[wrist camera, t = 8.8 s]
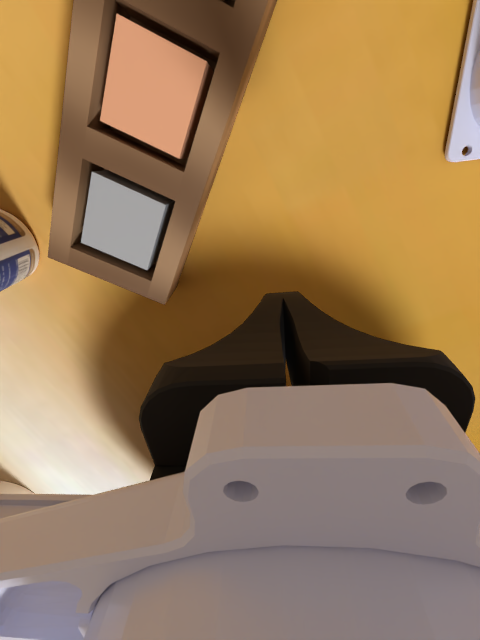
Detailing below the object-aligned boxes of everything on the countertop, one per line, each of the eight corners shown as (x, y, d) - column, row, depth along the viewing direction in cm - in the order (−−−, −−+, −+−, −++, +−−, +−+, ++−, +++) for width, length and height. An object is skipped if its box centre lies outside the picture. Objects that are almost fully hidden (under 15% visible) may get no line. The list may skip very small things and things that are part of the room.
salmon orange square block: (136, 32, 16) (116, 13, 13) (214, 73, 16) (206, 61, 14) (119, 124, 18) (99, 120, 16) (189, 158, 18) (179, 158, 16)
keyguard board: (211, -712, 8) (186, -1120, 6) (451, -496, 9) (524, -753, 7) (73, 244, 22) (47, 257, 19) (176, 287, 23) (164, 304, 20)
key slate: (111, 169, 19) (91, 171, 17) (176, 199, 19) (165, 205, 17) (99, 233, 21) (80, 242, 19) (158, 259, 22) (147, 270, 19)
